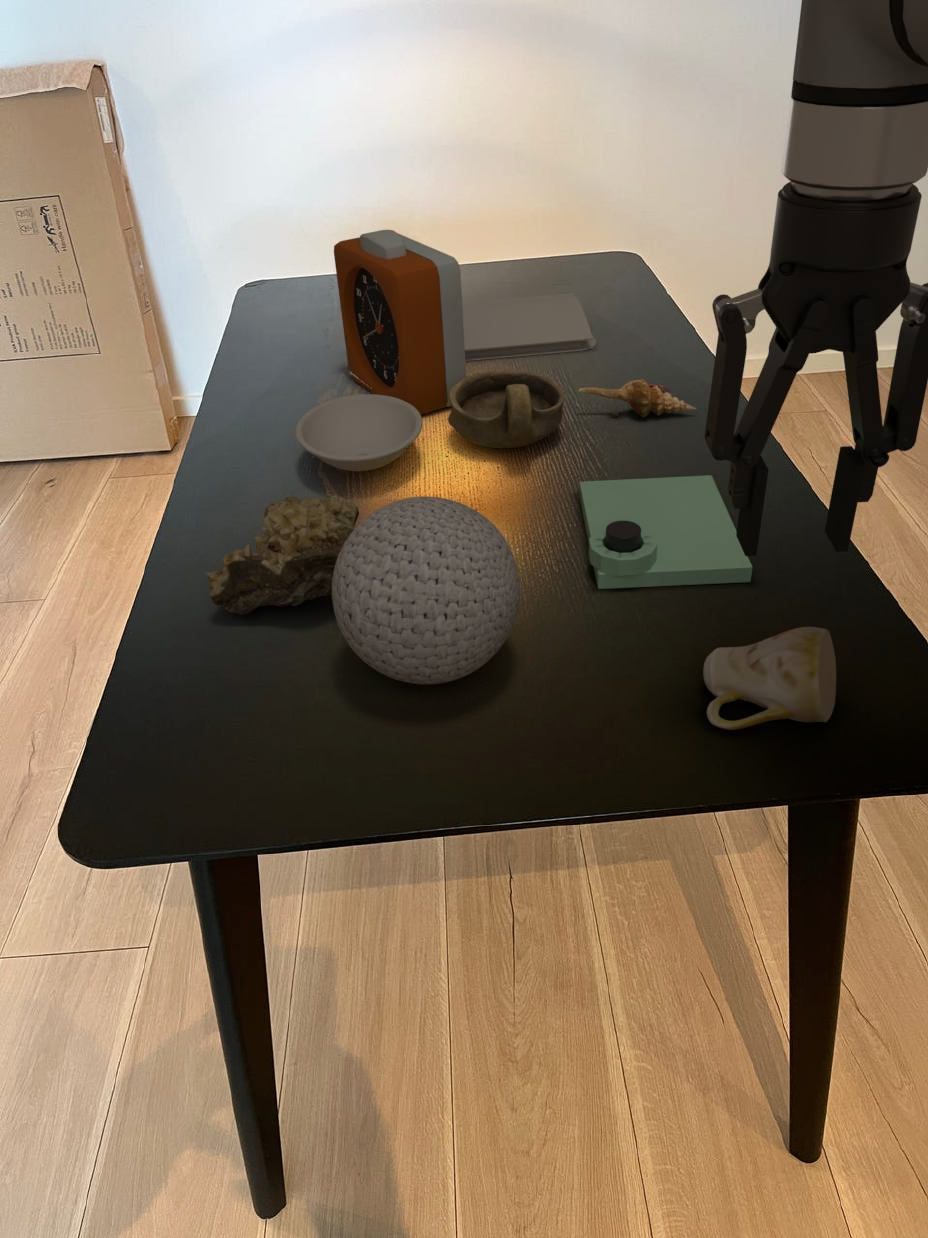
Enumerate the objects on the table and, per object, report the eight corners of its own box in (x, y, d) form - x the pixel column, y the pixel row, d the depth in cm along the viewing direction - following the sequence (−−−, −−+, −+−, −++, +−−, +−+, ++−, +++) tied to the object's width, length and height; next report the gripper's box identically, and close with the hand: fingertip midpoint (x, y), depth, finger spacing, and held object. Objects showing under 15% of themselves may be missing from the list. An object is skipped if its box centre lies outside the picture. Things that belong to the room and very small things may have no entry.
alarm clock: (347, 377, 135) (327, 222, 123) (403, 363, 139) (389, 210, 127) (410, 422, 122) (394, 253, 110) (470, 405, 125) (461, 239, 113)
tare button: (642, 553, 89) (643, 537, 88) (607, 555, 89) (608, 538, 88) (637, 535, 91) (638, 519, 90) (603, 537, 91) (603, 521, 90)
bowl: (553, 410, 123) (553, 332, 117) (581, 473, 109) (582, 388, 103) (444, 420, 122) (439, 342, 116) (458, 485, 108) (452, 400, 102)
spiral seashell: (680, 401, 123) (683, 367, 121) (696, 416, 119) (698, 381, 116) (576, 414, 122) (576, 380, 119) (588, 429, 117) (588, 394, 115)
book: (432, 327, 150) (430, 301, 148) (579, 314, 151) (580, 288, 149) (440, 363, 138) (438, 336, 135) (600, 349, 139) (601, 321, 136)
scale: (752, 585, 89) (756, 553, 87) (592, 593, 90) (593, 560, 87) (710, 489, 104) (713, 459, 102) (573, 495, 105) (574, 466, 103)
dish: (435, 491, 107) (432, 449, 104) (304, 508, 106) (297, 466, 103) (415, 425, 121) (412, 387, 118) (299, 439, 120) (293, 401, 117)
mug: (700, 663, 81) (776, 575, 75) (796, 740, 79) (881, 655, 73) (673, 697, 75) (754, 604, 69) (776, 782, 73) (867, 693, 67)
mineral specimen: (259, 543, 100) (241, 455, 94) (382, 547, 98) (371, 457, 92) (210, 627, 88) (186, 533, 83) (348, 633, 87) (334, 537, 81)
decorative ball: (548, 632, 85) (547, 479, 76) (477, 743, 74) (467, 579, 65) (396, 598, 90) (379, 451, 82) (310, 697, 80) (280, 540, 71)
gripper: (990, 158, 56) (906, 509, 70) (670, 177, 57) (648, 522, 71) (1054, 187, 50) (948, 566, 64) (695, 208, 51) (665, 579, 64)
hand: (791, 542), depth 67 cm, fingers open, 5 cm apart
